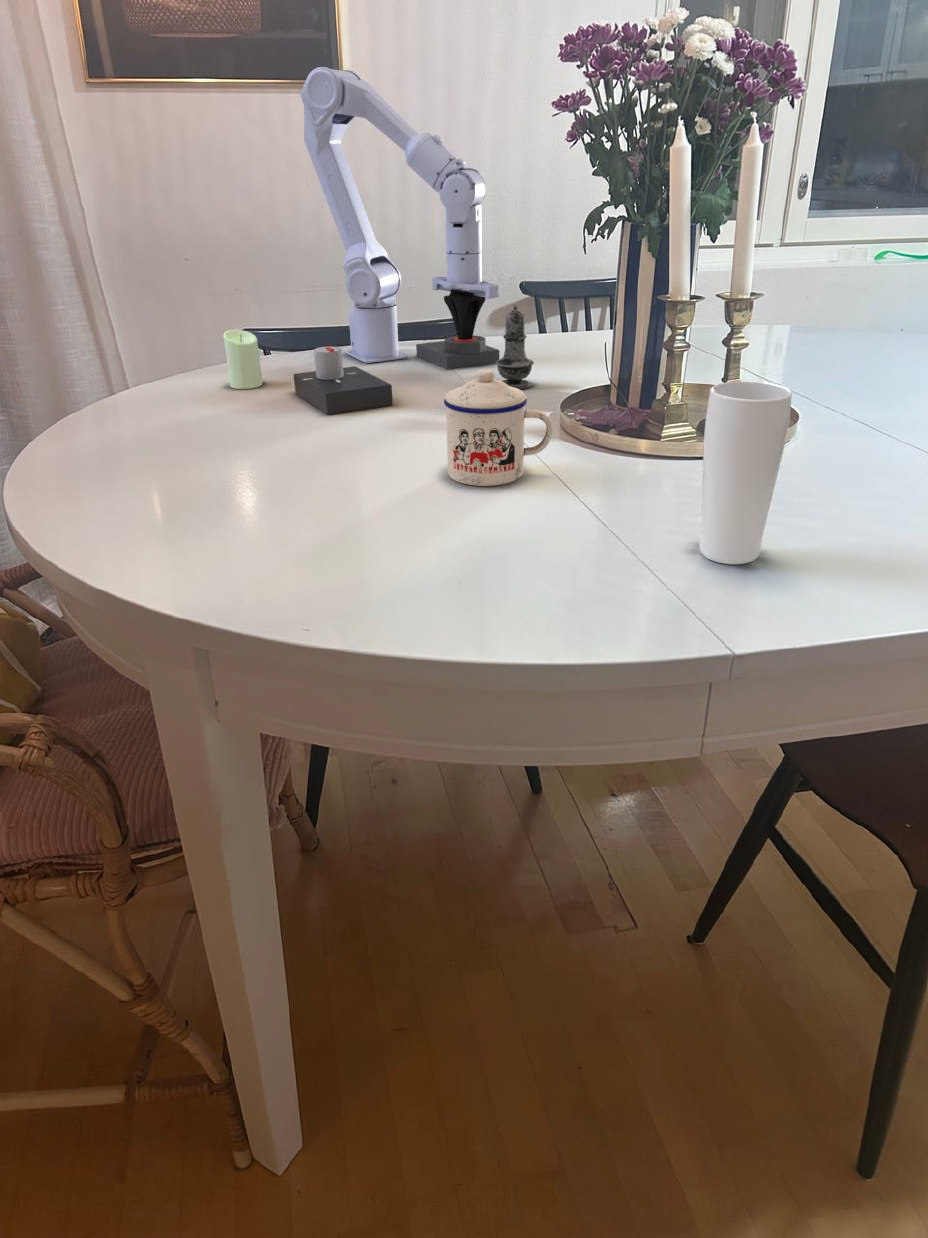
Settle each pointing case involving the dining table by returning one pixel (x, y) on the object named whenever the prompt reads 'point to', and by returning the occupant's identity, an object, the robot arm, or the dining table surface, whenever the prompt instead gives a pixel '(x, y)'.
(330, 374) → the knob
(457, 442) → the teacup with lid
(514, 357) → the salt shaker
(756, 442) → the drinking glass
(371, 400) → the panel
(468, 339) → the power button
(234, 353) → the candle
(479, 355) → the grey button base
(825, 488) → the dining table surface
